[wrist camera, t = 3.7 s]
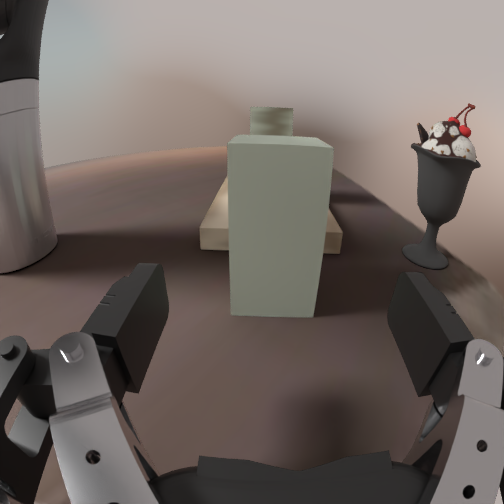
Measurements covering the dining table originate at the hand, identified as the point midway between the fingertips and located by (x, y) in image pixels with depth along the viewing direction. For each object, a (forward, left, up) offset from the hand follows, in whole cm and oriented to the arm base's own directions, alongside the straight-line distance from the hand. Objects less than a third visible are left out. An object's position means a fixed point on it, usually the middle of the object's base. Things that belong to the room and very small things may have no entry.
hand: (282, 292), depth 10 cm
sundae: (+15, +15, -6) cm, 22 cm away
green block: (0, +9, -6) cm, 10 cm away
